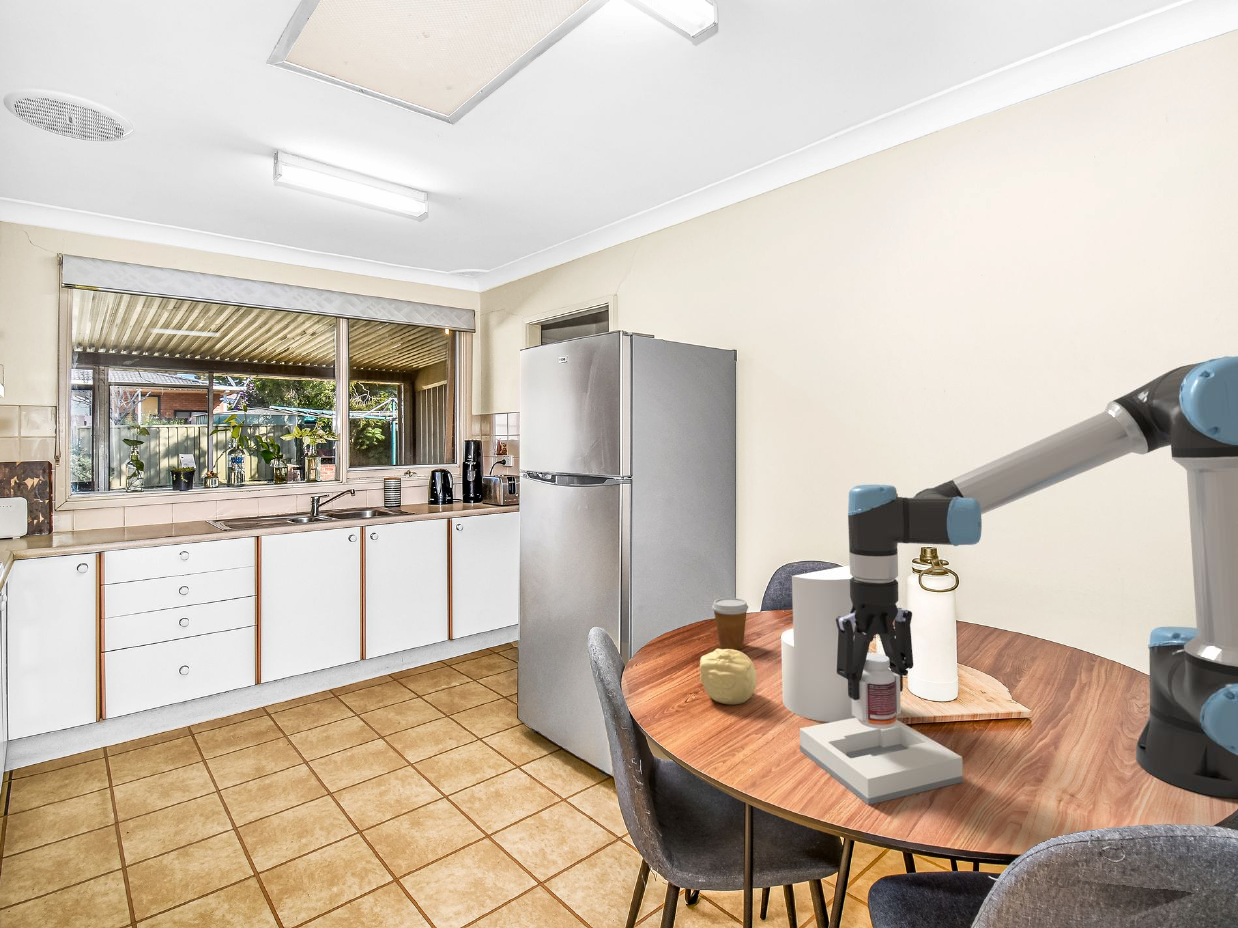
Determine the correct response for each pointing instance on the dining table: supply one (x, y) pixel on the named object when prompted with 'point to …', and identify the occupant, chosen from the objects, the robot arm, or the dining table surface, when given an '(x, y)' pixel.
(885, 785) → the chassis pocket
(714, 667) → the sculpture
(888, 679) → the pill bottle
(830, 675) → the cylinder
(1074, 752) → the dining table surface
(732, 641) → the disposable coffee cup
